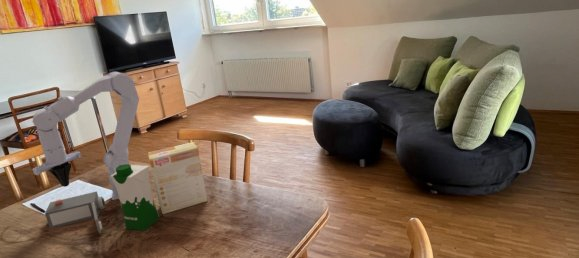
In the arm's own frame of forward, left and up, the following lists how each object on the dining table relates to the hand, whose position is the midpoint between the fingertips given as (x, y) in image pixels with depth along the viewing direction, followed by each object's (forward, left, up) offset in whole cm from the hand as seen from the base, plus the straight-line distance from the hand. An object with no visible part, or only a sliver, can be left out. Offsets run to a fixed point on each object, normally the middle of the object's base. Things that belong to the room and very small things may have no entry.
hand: (65, 185), depth 121 cm
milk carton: (-22, +21, -10) cm, 32 cm away
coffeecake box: (-35, +15, -10) cm, 39 cm away
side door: (-9, +15, -9) cm, 20 cm away
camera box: (-2, +5, -10) cm, 11 cm away
